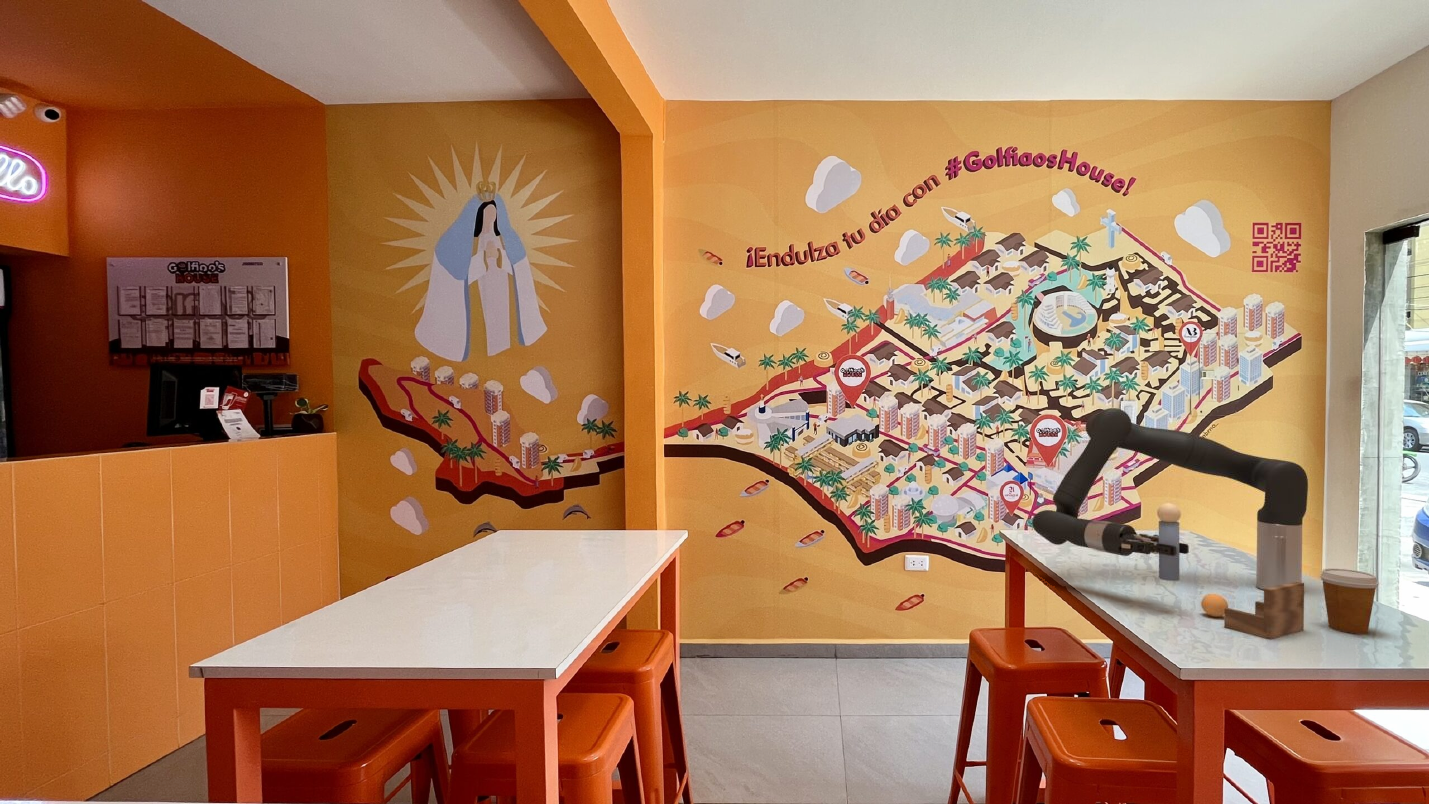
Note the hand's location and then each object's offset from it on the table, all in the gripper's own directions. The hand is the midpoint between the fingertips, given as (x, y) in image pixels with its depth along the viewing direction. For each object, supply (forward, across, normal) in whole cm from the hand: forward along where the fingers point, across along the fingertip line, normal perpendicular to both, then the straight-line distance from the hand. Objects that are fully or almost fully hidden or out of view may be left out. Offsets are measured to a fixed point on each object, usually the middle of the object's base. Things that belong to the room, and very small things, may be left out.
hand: (1181, 550), depth 164 cm
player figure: (-3, 0, +7) cm, 8 cm away
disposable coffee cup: (+22, +22, +15) cm, 34 cm away
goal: (+13, +6, +15) cm, 21 cm away
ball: (+4, +6, +12) cm, 14 cm away
